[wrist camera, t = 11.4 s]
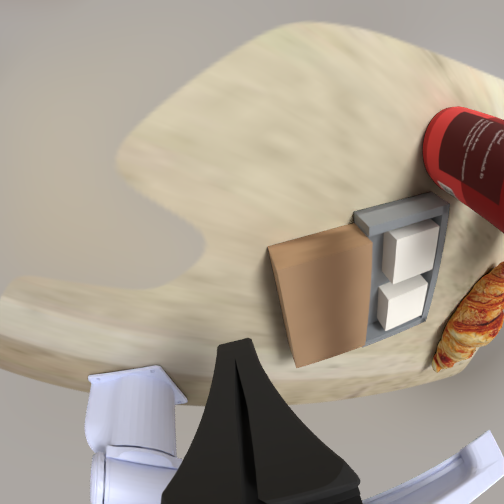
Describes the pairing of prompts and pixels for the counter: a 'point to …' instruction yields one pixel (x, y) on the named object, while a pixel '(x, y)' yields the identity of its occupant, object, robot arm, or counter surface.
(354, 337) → the board
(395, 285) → the tile
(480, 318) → the croissant
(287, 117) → the counter surface
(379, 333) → the tray
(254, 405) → the robot arm
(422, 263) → the tile
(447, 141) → the canned food
